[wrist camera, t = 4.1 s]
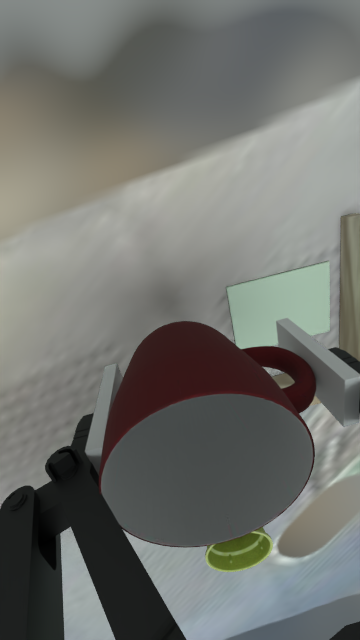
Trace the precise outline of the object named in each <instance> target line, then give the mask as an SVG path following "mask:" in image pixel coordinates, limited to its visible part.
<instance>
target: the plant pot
mask: <svg viewBox="0 0 360 640" xmlns="http://www.w3.org/2000/svg"><path fill="white" fill-rule="evenodd" d="M272 548H273V542H272V540H271V538H270V536H269V535H268V534H267V533H265V531H264V529H263V527H261V528H259V529H257V530H255V531H253V532H251V533H249V534H247V535H244V536H242V537H239V538H236V539H233V540H230V541H227V542H223V543H219V544H214V545H208V546H207V550H206V554H205V558H206V562H207V564H208V565H209V566H210V567H211V568H213V569H215V570H218V571H223V572H235V571H241V570H245V569H248V568H251V567H253V566H255V565H257V564H259V563H260V562H262V561H263V560H265V559H266V558H267V557H268V555H269V554H270V553H271V551H272Z"/></svg>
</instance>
